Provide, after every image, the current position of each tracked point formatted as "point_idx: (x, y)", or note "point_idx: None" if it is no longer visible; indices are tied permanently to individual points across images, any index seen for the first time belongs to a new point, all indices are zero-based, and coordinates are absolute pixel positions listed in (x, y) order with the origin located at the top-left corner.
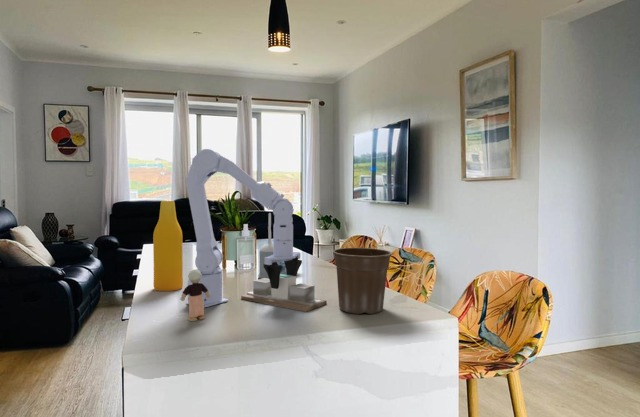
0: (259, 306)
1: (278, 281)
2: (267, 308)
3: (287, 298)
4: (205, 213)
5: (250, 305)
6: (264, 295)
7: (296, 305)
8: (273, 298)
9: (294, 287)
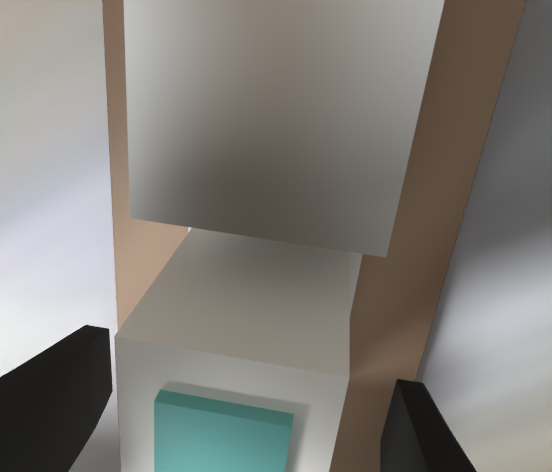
0: (502, 377)
1: (434, 442)
2: (546, 298)
3: None
4: None
5: (497, 440)
6: None
7: (490, 41)
8: None
9: (401, 177)
